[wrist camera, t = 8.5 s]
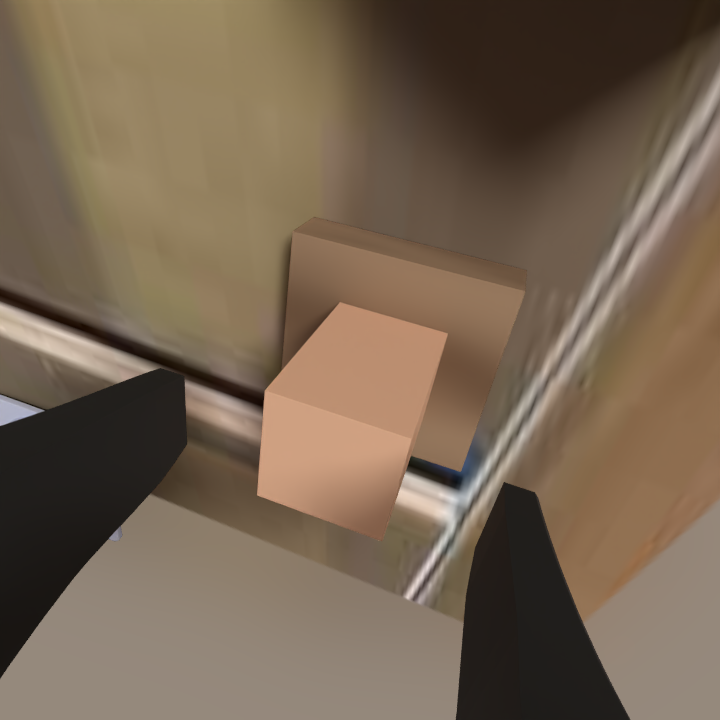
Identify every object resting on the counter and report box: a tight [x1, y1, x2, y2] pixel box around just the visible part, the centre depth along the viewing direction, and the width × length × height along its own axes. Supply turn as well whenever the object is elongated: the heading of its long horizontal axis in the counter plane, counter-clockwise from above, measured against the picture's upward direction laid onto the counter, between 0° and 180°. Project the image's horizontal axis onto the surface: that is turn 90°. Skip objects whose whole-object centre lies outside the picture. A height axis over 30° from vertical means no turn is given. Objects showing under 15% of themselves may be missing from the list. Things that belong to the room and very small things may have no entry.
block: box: [257, 302, 448, 541], centre depth 16 cm, size 4×4×6 cm
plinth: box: [281, 217, 527, 472], centre depth 20 cm, size 8×8×2 cm
